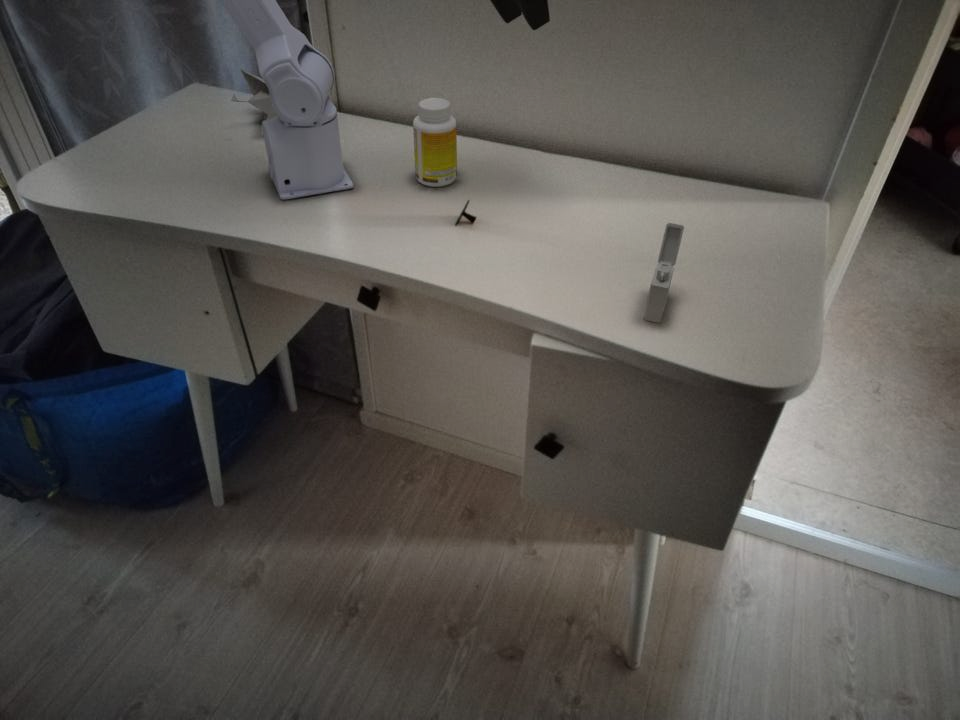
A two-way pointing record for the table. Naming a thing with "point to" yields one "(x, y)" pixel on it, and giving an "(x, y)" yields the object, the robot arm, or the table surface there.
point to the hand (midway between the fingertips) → (527, 22)
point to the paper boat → (259, 96)
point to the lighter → (663, 273)
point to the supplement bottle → (435, 143)
